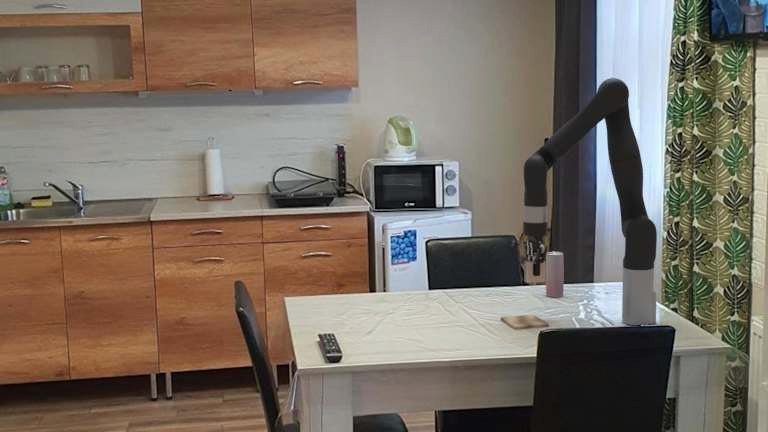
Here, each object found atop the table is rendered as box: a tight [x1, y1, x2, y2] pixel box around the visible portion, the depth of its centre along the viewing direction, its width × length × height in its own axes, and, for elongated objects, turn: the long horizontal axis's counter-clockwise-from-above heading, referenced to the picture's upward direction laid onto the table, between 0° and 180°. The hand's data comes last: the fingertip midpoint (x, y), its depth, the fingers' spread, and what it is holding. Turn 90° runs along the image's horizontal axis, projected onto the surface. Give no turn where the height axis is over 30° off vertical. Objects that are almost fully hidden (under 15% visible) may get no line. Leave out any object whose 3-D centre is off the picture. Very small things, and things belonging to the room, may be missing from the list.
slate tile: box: [523, 260, 546, 284], centre depth 295 cm, size 6×2×7 cm, turn 104°
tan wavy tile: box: [500, 314, 550, 330], centre depth 293 cm, size 11×12×1 cm
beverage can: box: [545, 251, 565, 298], centre depth 327 cm, size 6×6×15 cm
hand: (534, 274), depth 295 cm, fingers closed on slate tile, 2 cm apart
